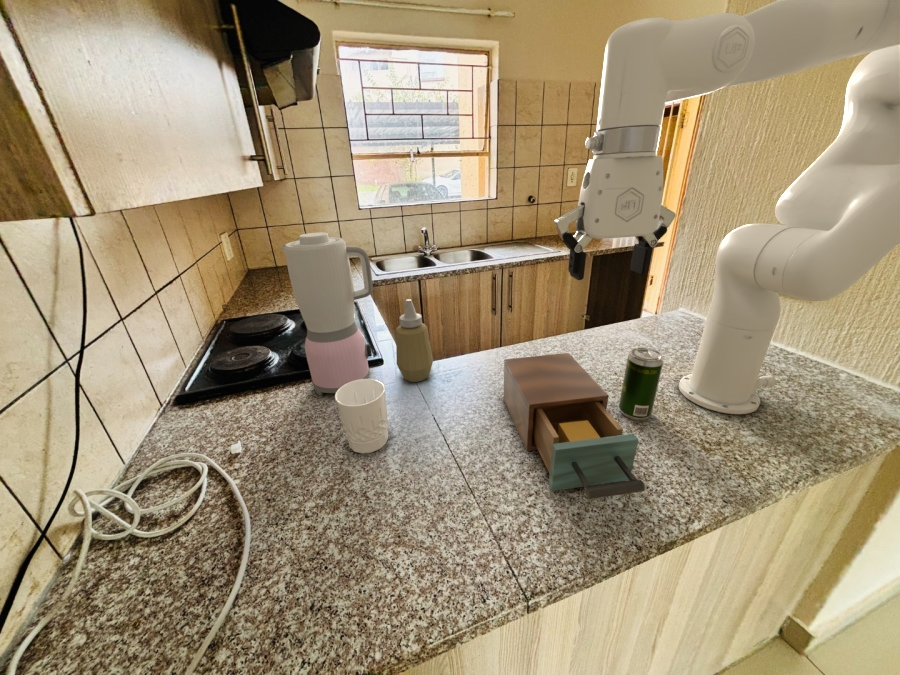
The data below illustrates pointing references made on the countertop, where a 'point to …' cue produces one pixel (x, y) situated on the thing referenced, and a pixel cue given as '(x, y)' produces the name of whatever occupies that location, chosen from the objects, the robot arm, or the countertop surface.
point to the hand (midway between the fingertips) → (607, 275)
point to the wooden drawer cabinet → (545, 388)
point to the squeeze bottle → (413, 346)
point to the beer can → (640, 383)
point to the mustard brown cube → (576, 431)
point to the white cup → (363, 414)
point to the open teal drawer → (586, 451)
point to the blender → (329, 308)
